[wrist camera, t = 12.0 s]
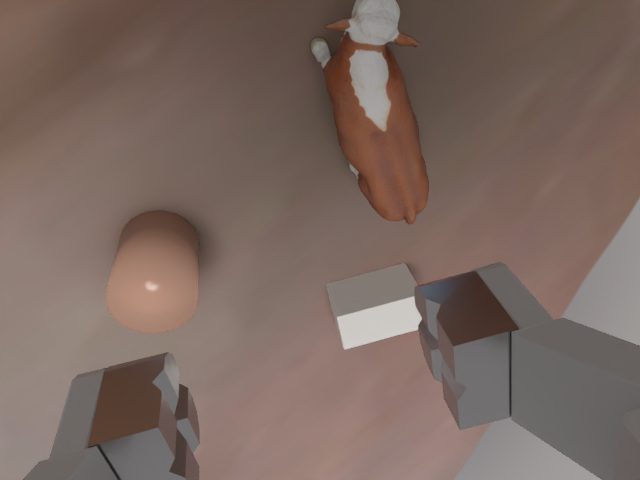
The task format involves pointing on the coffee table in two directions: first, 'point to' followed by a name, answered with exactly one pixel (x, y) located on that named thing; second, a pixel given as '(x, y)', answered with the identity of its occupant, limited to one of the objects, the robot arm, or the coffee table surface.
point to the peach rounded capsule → (155, 273)
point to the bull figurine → (375, 110)
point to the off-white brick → (374, 305)
